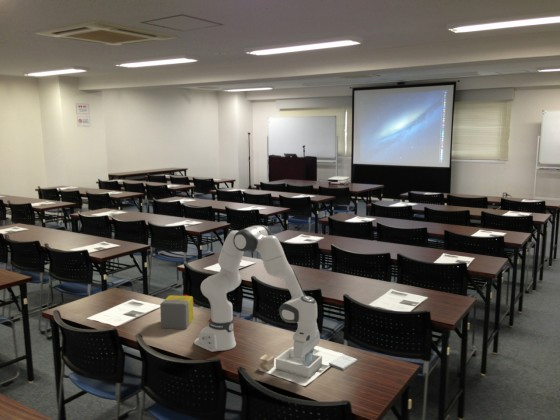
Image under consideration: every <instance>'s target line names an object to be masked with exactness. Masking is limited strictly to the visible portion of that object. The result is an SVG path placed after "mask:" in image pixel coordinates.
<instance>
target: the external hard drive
mask: <svg viewBox="0 0 560 420" xmlns="http://www.w3.org/2000/svg"><path fill="white" fill-rule="evenodd" d="M356 362H358V358H355V357H352V356H349V355H346V354H344V353H343V354H341V355H340V356H338V357H337V358H335V359H333V360H332V361H330V362H328V365H329V364H330V365H329V366H330V367H333V368H336V369H338V370H342V371H345V370H346V369H348V368H349V367H350V366H352V365H354V364H355V363H356Z"/></svg>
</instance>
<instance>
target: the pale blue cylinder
mask: <svg viewBox="0 0 560 420" xmlns="http://www.w3.org/2000/svg"><path fill="white" fill-rule="evenodd" d="M305 359H306V362H305V363H302V365H303V366H307V367H309V366H310V365H311V364H312V353H311V352H310V351H309V352H308V353H307V354H306V355H305Z"/></svg>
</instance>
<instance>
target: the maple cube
mask: <svg viewBox="0 0 560 420" xmlns="http://www.w3.org/2000/svg"><path fill="white" fill-rule="evenodd" d="M274 367H275V356H273V355H269V354H266V353H265V354H264V355H262V356H261V357H260V358H259V369H260V370H261V369H262V370H265V371H270V370H272V369H273V368H274Z"/></svg>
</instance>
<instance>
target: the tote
mask: <svg viewBox="0 0 560 420" xmlns="http://www.w3.org/2000/svg"><path fill="white" fill-rule="evenodd" d="M322 366H323V356H322V355H319V354H315V353H313V356H312V364H311V365H310V366H309V367H307V366H303V365H302V363H301V359H300V358H296V357H295V356H294V352H293V347H292V348H291V347H289V348H287V350H285V351H284V352H282V353H281V354H280V355H279V356H277V357H276V358H275V370H278V371H281V372H285V373H289V374H292V375H297V376H298V377H302V376H303V378H306V377H308V378H307V379H310V378H311V377H312V376H314V374H316V372H317V371H319V370H320V369H321V368H322ZM309 377H310V378H309Z"/></svg>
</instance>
